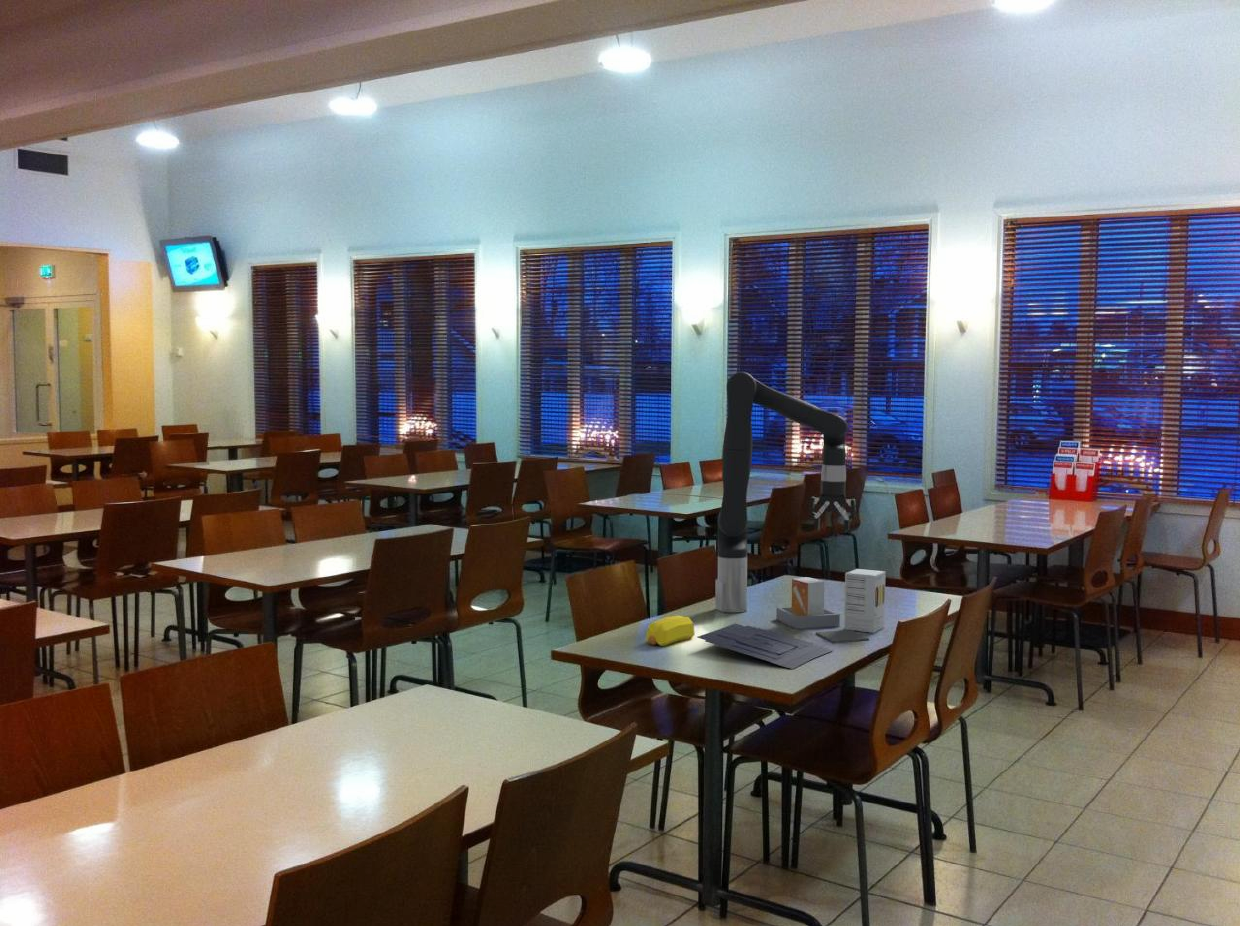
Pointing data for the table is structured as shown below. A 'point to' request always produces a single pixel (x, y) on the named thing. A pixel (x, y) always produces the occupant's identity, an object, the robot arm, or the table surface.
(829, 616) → the grey bin
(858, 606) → the supplement box
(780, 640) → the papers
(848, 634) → the charcoal mat
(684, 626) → the yellow faceted capsule
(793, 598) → the small box
